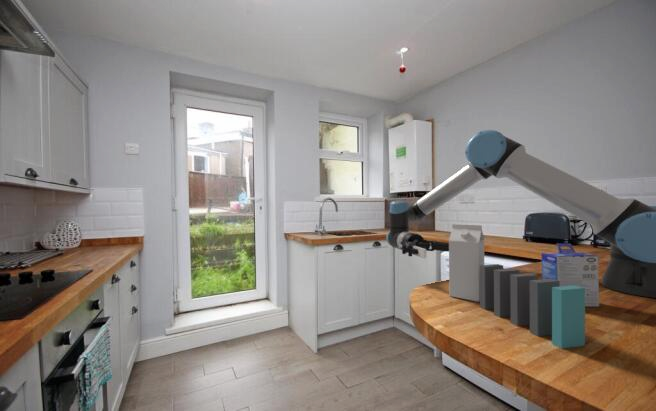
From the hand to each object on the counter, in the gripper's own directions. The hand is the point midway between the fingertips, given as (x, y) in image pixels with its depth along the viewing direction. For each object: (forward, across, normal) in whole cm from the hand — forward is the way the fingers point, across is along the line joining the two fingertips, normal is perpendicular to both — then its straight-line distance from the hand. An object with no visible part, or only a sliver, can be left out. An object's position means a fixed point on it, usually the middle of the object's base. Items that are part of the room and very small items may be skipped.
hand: (445, 252), depth 81 cm
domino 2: (+22, 0, -10) cm, 24 cm away
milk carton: (+9, 0, -10) cm, 13 cm away
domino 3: (+26, 0, -10) cm, 28 cm away
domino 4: (+30, 0, -10) cm, 32 cm away
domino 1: (+17, 0, -10) cm, 20 cm away
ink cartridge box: (+19, -21, -10) cm, 30 cm away
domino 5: (+34, 0, -10) cm, 36 cm away
